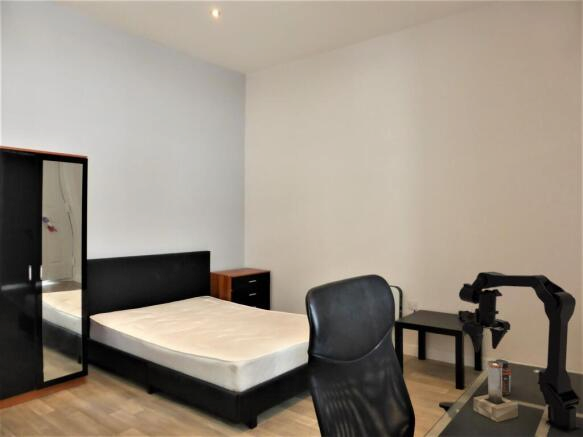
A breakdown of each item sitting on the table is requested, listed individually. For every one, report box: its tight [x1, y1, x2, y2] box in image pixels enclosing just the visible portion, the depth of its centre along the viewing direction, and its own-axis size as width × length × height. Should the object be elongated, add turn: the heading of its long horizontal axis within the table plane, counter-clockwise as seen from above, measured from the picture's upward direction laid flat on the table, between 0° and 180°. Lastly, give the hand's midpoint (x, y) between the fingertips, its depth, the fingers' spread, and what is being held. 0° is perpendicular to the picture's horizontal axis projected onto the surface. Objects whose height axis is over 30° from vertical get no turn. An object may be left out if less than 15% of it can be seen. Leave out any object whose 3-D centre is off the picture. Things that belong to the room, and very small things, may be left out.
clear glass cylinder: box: [486, 360, 503, 404], centre depth 133 cm, size 4×4×12 cm
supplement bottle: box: [495, 359, 512, 396], centre depth 150 cm, size 6×6×11 cm
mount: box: [472, 394, 519, 423], centre depth 133 cm, size 9×9×4 cm
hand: (485, 350), depth 149 cm, fingers open, 9 cm apart
